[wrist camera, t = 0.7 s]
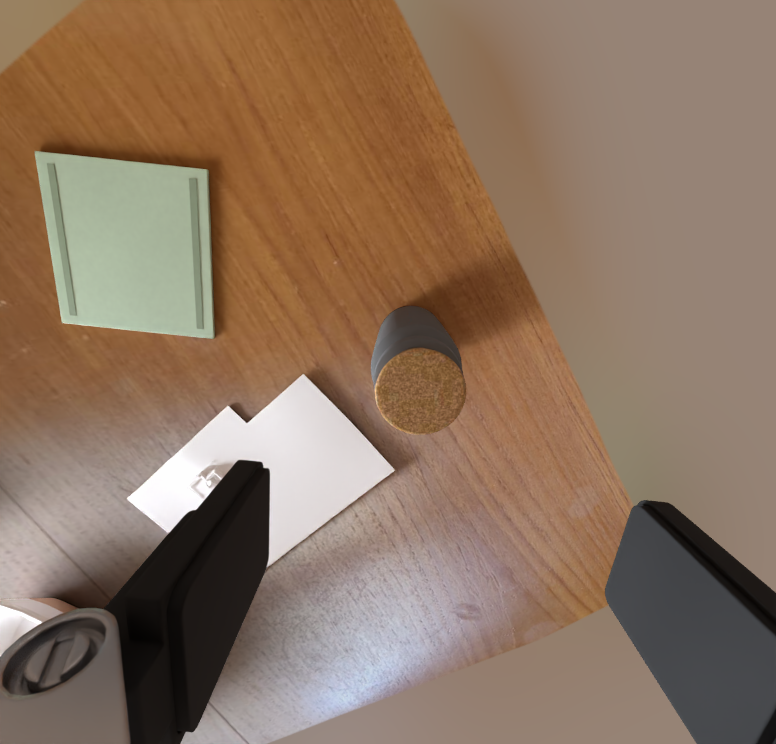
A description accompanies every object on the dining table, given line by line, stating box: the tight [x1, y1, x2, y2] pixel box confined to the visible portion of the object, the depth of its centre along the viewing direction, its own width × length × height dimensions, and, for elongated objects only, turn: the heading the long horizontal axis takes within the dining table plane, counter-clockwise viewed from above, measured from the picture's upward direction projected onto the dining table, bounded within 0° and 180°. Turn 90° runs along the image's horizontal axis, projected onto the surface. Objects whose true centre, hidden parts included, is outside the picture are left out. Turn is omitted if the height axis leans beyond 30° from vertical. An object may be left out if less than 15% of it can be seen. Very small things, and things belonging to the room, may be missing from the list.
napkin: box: [35, 151, 215, 339], centre depth 31 cm, size 14×14×1 cm
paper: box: [127, 374, 395, 567], centre depth 37 cm, size 25×17×1 cm
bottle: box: [371, 306, 466, 435], centre depth 26 cm, size 6×6×15 cm
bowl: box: [0, 598, 78, 657], centre depth 43 cm, size 22×22×5 cm
